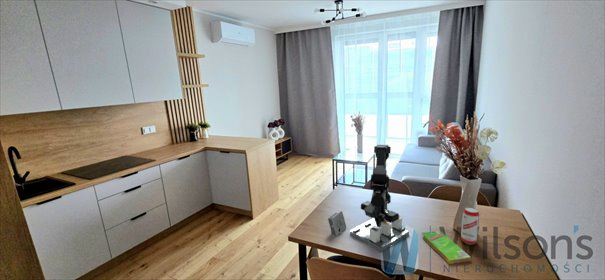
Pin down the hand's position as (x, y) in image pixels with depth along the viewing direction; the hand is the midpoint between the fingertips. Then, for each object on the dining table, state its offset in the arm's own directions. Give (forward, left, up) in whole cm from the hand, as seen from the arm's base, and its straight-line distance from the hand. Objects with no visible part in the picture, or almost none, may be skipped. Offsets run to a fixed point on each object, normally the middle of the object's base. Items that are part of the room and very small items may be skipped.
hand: (378, 226), depth 133 cm
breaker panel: (0, 0, -4) cm, 4 cm away
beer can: (-26, +30, -4) cm, 40 cm away
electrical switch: (+13, -16, -4) cm, 21 cm away
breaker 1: (+8, +4, -1) cm, 10 cm away
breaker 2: (0, +4, -2) cm, 5 cm away
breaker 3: (-9, +4, -2) cm, 10 cm away
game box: (-13, +26, -5) cm, 29 cm away
